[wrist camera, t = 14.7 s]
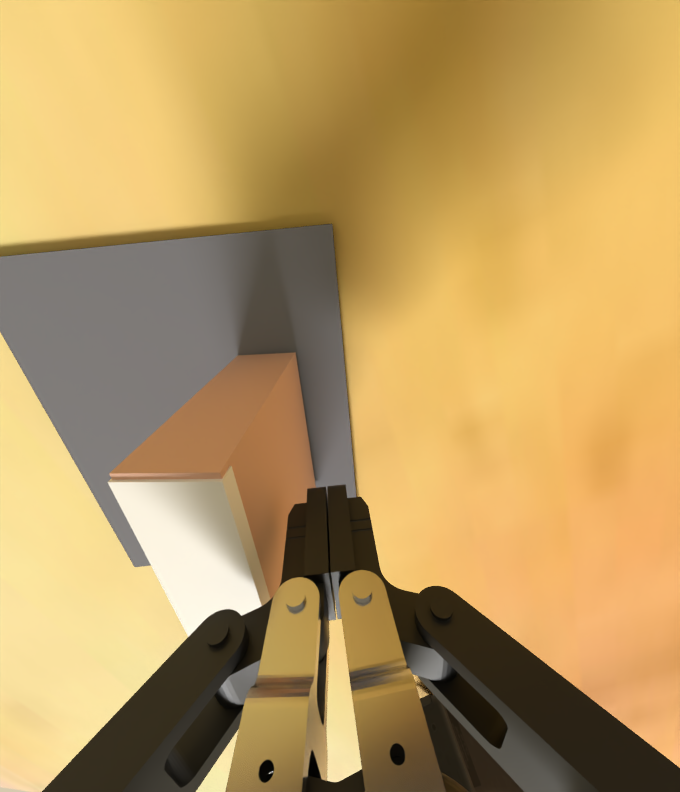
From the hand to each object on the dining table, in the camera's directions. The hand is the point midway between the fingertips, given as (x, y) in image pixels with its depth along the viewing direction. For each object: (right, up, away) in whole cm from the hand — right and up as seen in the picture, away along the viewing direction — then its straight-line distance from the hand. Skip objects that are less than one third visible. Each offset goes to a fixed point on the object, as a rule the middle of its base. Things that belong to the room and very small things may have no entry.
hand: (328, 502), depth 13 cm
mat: (-7, +2, +6) cm, 9 cm away
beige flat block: (-3, +2, +6) cm, 7 cm away
